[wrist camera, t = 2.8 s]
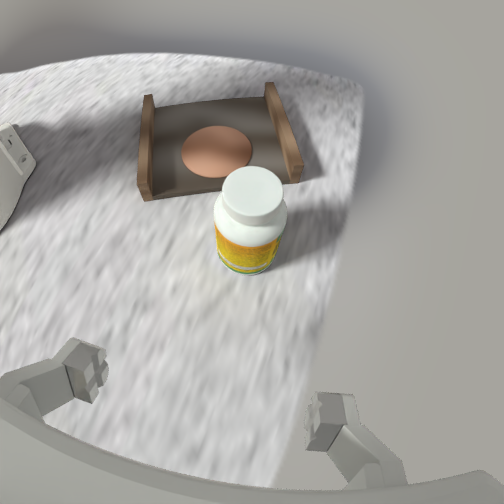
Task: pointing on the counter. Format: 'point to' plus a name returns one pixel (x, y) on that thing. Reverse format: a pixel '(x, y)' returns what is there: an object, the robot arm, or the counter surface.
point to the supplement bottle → (249, 219)
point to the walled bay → (213, 144)
